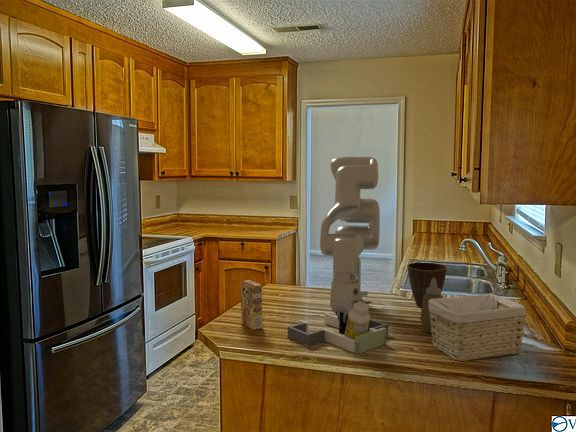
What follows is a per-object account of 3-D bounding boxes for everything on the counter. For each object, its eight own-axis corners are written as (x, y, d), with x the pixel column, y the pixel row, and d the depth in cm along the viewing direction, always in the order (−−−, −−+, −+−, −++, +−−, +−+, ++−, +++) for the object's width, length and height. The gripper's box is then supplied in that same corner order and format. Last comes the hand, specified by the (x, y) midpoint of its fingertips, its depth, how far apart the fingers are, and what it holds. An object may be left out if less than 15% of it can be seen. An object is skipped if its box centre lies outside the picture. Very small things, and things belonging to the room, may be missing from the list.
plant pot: (440, 313, 183) (441, 271, 182) (401, 307, 191) (402, 267, 189) (449, 304, 196) (451, 264, 194) (413, 298, 204) (414, 261, 202)
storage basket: (454, 364, 137) (456, 313, 135) (424, 344, 153) (425, 297, 151) (527, 355, 143) (529, 306, 141) (491, 337, 159) (492, 292, 157)
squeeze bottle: (445, 328, 167) (446, 276, 165) (444, 336, 159) (446, 281, 157) (420, 325, 170) (422, 274, 168) (419, 333, 162) (420, 280, 160)
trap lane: (340, 318, 178) (340, 305, 177) (400, 338, 157) (400, 323, 156) (282, 334, 161) (281, 320, 161) (340, 359, 140) (340, 343, 140)
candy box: (263, 328, 168) (262, 284, 166) (252, 330, 166) (252, 286, 164) (250, 321, 175) (250, 279, 174) (240, 323, 173) (239, 281, 171)
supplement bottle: (343, 332, 156) (350, 298, 151) (364, 335, 156) (371, 301, 151) (343, 345, 150) (350, 310, 145) (365, 348, 150) (372, 313, 145)
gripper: (370, 279, 151) (369, 337, 152) (337, 271, 163) (337, 325, 164) (353, 282, 146) (352, 342, 148) (320, 274, 158) (320, 329, 160)
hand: (344, 333), depth 156 cm, fingers closed
